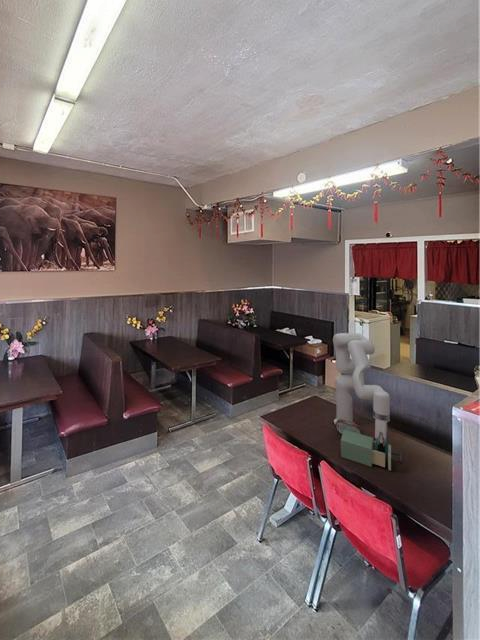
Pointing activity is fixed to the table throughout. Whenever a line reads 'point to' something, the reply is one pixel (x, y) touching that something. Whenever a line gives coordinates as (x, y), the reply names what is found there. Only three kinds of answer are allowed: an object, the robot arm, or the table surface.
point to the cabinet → (357, 447)
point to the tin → (348, 427)
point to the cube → (384, 445)
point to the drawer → (383, 457)
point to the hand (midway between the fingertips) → (381, 449)
